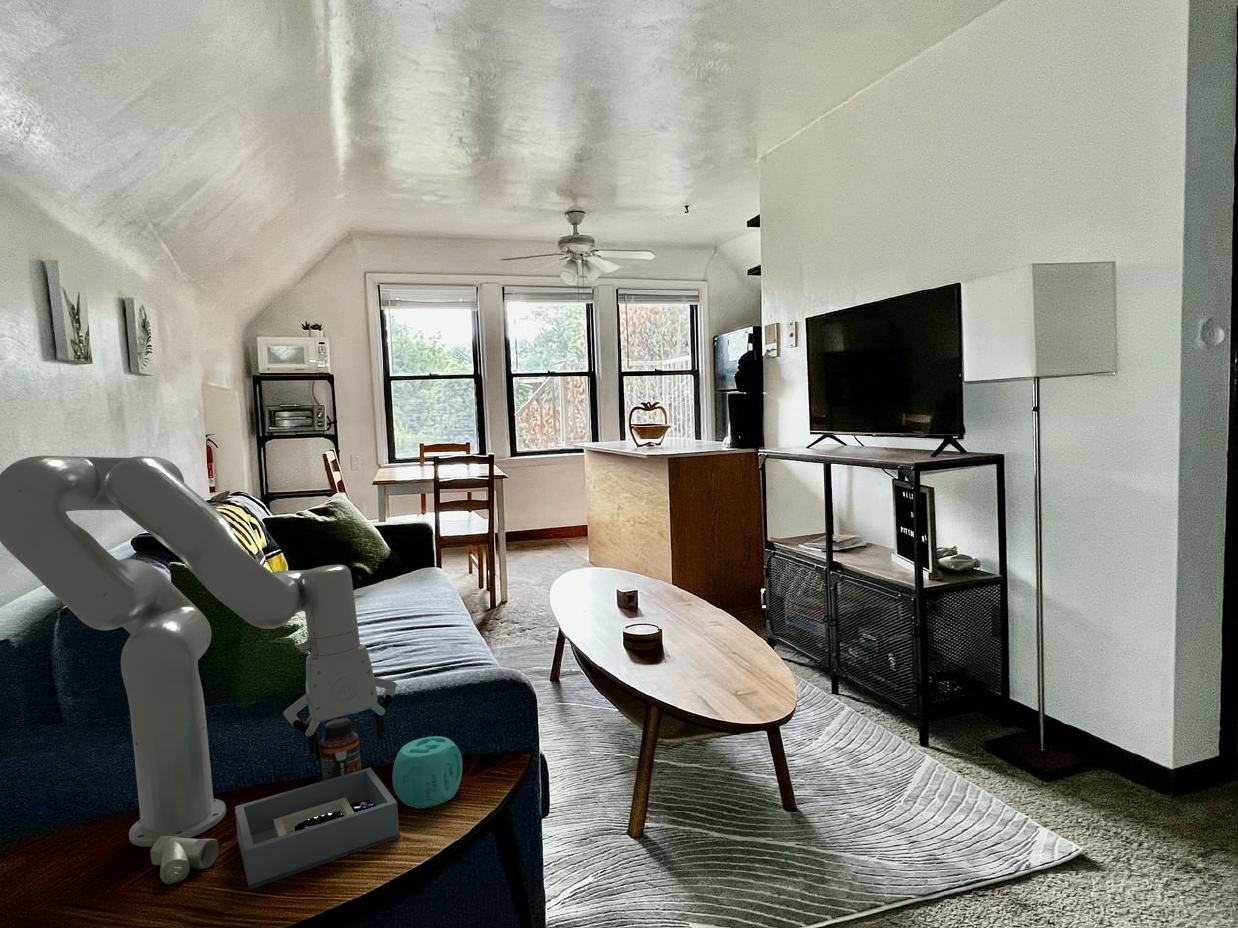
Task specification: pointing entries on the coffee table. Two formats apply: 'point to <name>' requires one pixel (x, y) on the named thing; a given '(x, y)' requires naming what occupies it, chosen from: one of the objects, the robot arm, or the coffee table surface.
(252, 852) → the box
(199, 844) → the pipe fitting
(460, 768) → the decorative dice
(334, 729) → the supplement bottle
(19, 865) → the coffee table surface
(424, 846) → the coffee table surface
